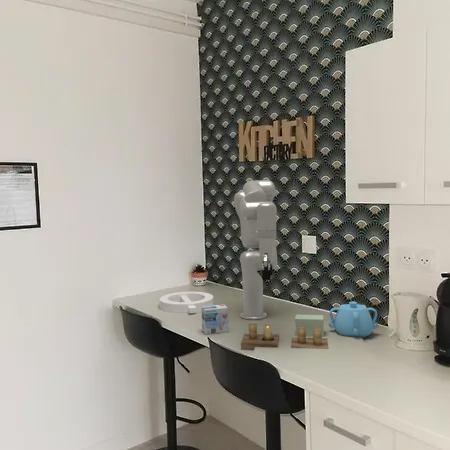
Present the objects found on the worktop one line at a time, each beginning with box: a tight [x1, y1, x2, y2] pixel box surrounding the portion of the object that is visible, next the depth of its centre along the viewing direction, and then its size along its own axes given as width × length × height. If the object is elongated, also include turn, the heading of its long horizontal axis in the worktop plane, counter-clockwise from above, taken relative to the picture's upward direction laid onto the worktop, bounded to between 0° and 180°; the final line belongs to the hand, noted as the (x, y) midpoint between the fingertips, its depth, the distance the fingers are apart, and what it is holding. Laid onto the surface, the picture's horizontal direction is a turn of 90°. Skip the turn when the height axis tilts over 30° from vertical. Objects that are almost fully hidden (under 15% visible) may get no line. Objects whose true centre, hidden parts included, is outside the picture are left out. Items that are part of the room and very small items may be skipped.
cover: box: [294, 314, 325, 337], centre depth 201 cm, size 7×11×8 cm, turn 80°
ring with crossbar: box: [159, 291, 215, 314], centre depth 257 cm, size 28×28×5 cm
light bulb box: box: [201, 304, 230, 335], centre depth 212 cm, size 11×7×11 cm, turn 106°
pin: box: [263, 324, 273, 341], centre depth 191 cm, size 3×3×8 cm
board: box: [290, 327, 330, 350], centre depth 190 cm, size 12×14×7 cm
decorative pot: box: [328, 301, 379, 339], centre depth 202 cm, size 16×16×14 cm
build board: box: [240, 322, 280, 351], centre depth 193 cm, size 12×14×8 cm
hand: (267, 277), depth 194 cm, fingers open, 9 cm apart
